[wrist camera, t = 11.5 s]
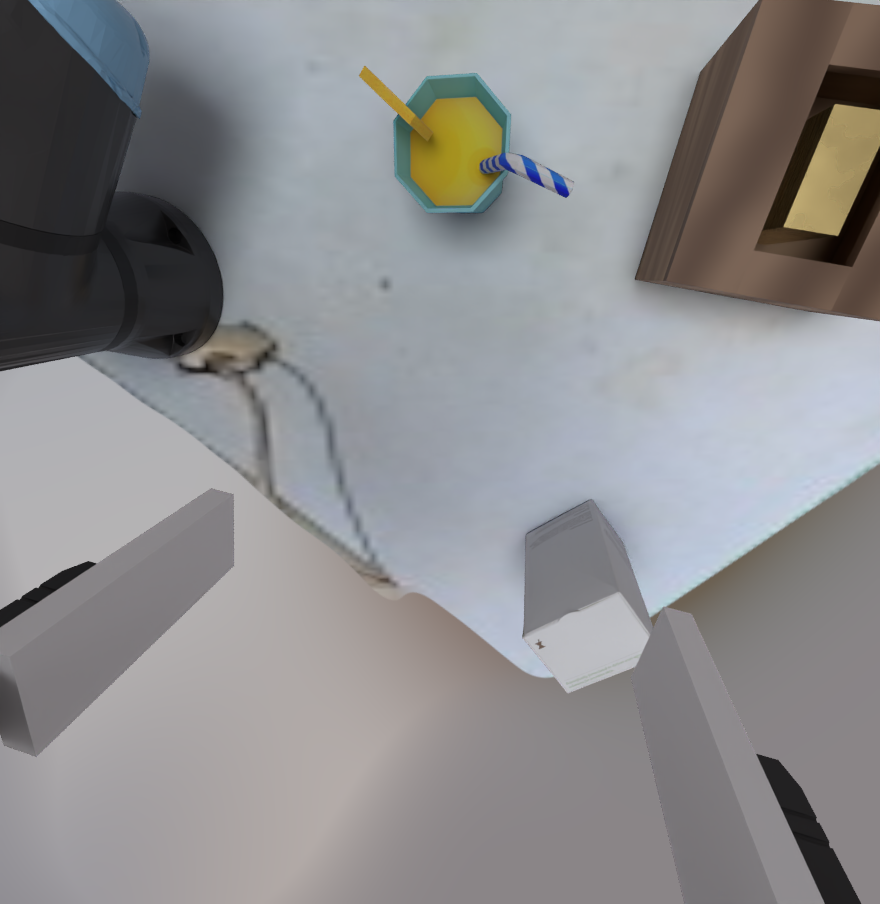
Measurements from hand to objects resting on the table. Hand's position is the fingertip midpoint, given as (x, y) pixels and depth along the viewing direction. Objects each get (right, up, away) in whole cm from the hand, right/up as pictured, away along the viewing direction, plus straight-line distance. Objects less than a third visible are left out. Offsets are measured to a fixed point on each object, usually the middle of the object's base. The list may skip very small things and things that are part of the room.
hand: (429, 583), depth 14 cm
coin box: (+24, +23, +21) cm, 39 cm away
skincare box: (+14, -5, +34) cm, 37 cm away
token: (+24, +23, +20) cm, 39 cm away
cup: (+4, +26, +24) cm, 36 cm away
